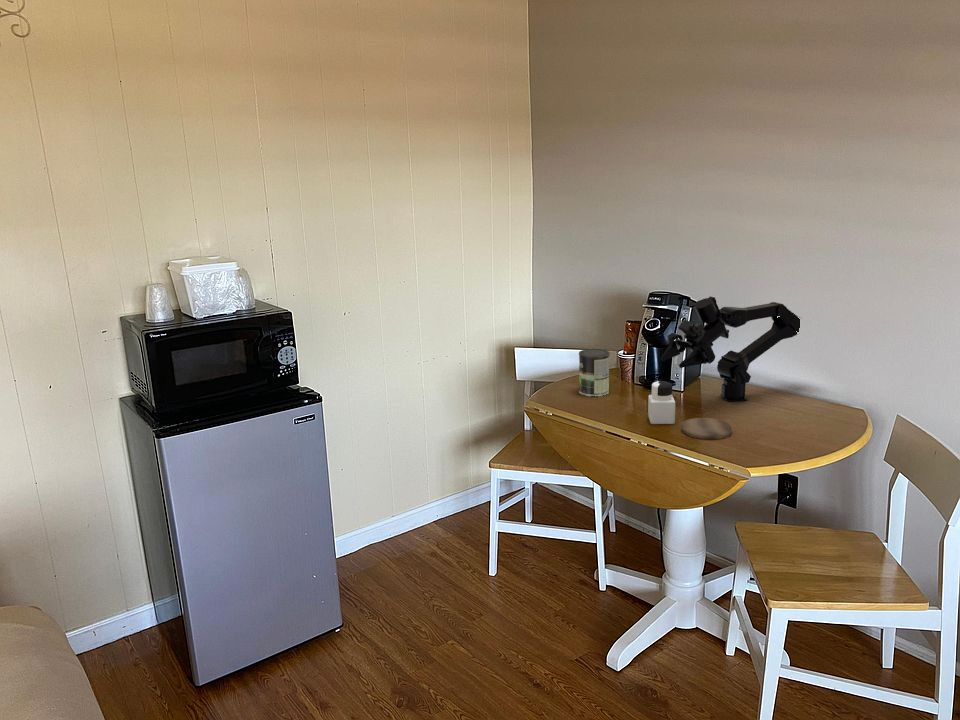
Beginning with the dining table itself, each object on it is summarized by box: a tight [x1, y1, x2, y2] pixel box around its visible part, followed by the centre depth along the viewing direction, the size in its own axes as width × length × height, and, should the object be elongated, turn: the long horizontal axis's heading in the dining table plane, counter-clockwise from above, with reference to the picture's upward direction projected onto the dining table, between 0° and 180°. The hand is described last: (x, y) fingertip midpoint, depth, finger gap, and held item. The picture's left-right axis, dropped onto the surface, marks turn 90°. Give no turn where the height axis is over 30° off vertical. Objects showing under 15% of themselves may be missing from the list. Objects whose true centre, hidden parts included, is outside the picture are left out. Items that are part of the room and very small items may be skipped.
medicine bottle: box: [647, 380, 676, 425], centre depth 231 cm, size 7×7×12 cm
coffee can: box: [578, 348, 610, 398], centre depth 259 cm, size 10×10×14 cm
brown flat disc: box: [680, 417, 732, 441], centre depth 222 cm, size 14×14×2 cm
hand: (670, 363), depth 236 cm, fingers open, 9 cm apart
